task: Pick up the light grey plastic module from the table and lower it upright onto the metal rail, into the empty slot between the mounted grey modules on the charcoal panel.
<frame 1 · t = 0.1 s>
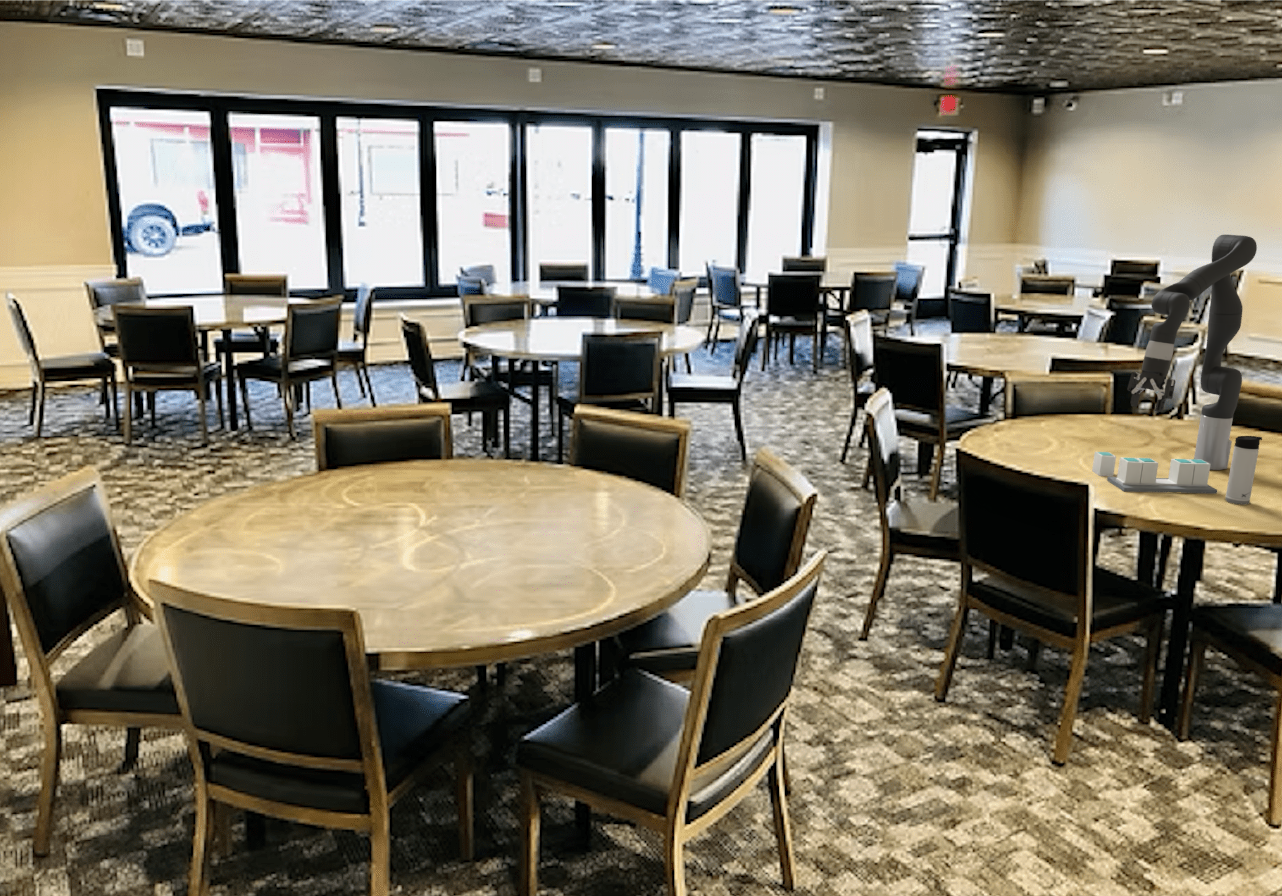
hand: (1145, 408, 326), 22 cm above the table, tool pointing down, fingers open, 8 cm apart
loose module: (1102, 473, 337), on the table
rail panel: (1160, 486, 323), on the table
travel mug: (1237, 502, 310), on the table
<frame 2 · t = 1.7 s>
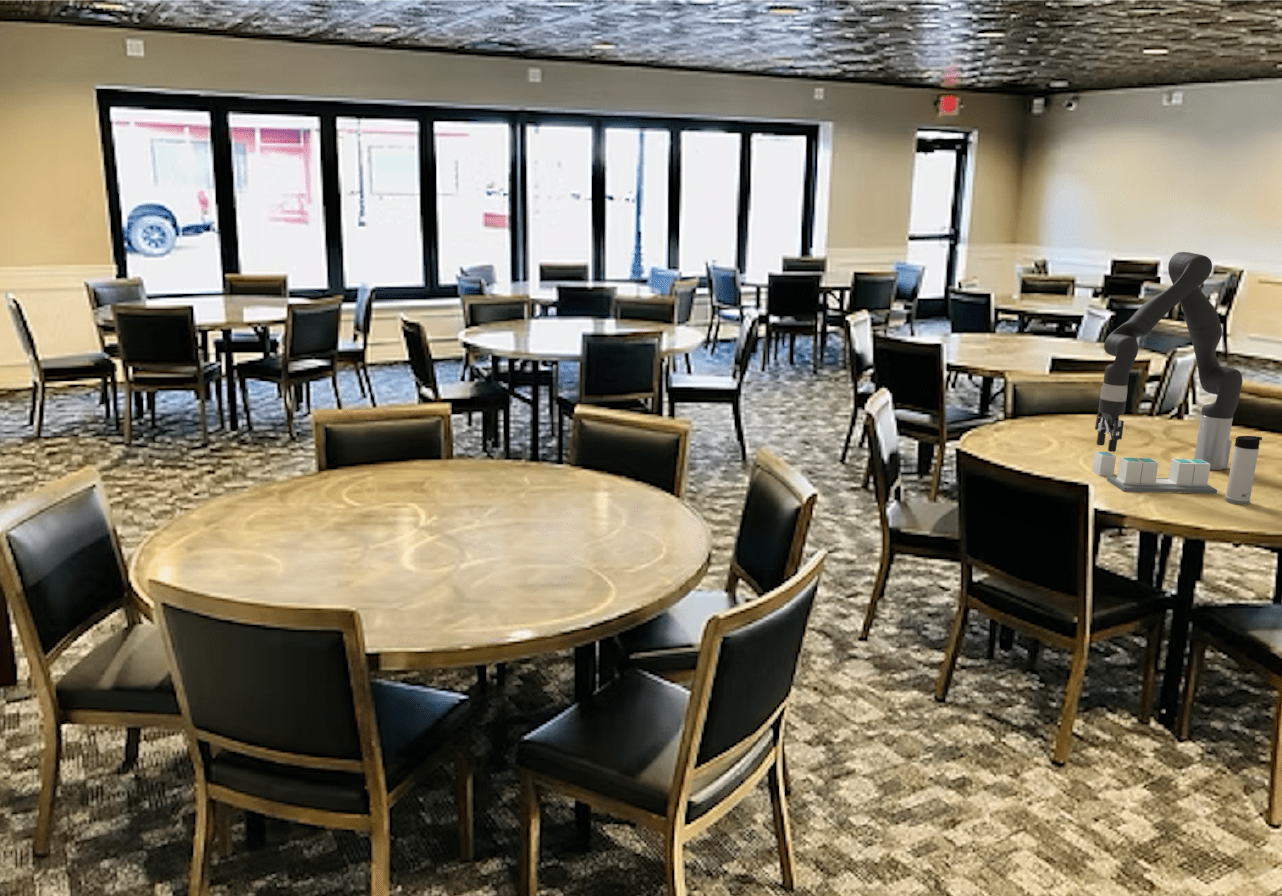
hand: (1105, 448, 334), 8 cm above the table, tool pointing down, fingers open, 8 cm apart
nothing on the table moved.
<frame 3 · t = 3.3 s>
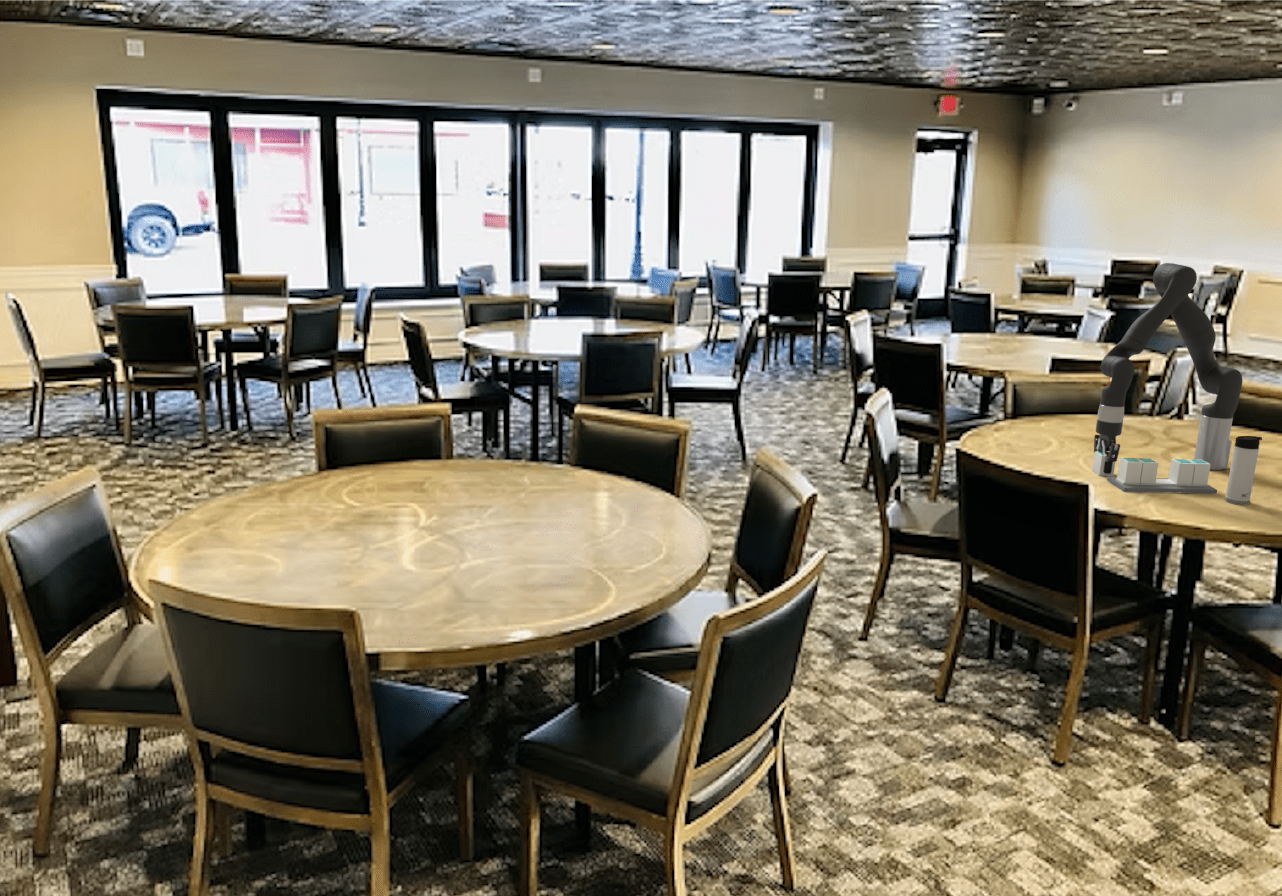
hand: (1103, 470, 336), 1 cm above the table, tool pointing down, fingers closed on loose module, 5 cm apart
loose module: (1102, 473, 337), on the table, touching gripper
everything else where it was.
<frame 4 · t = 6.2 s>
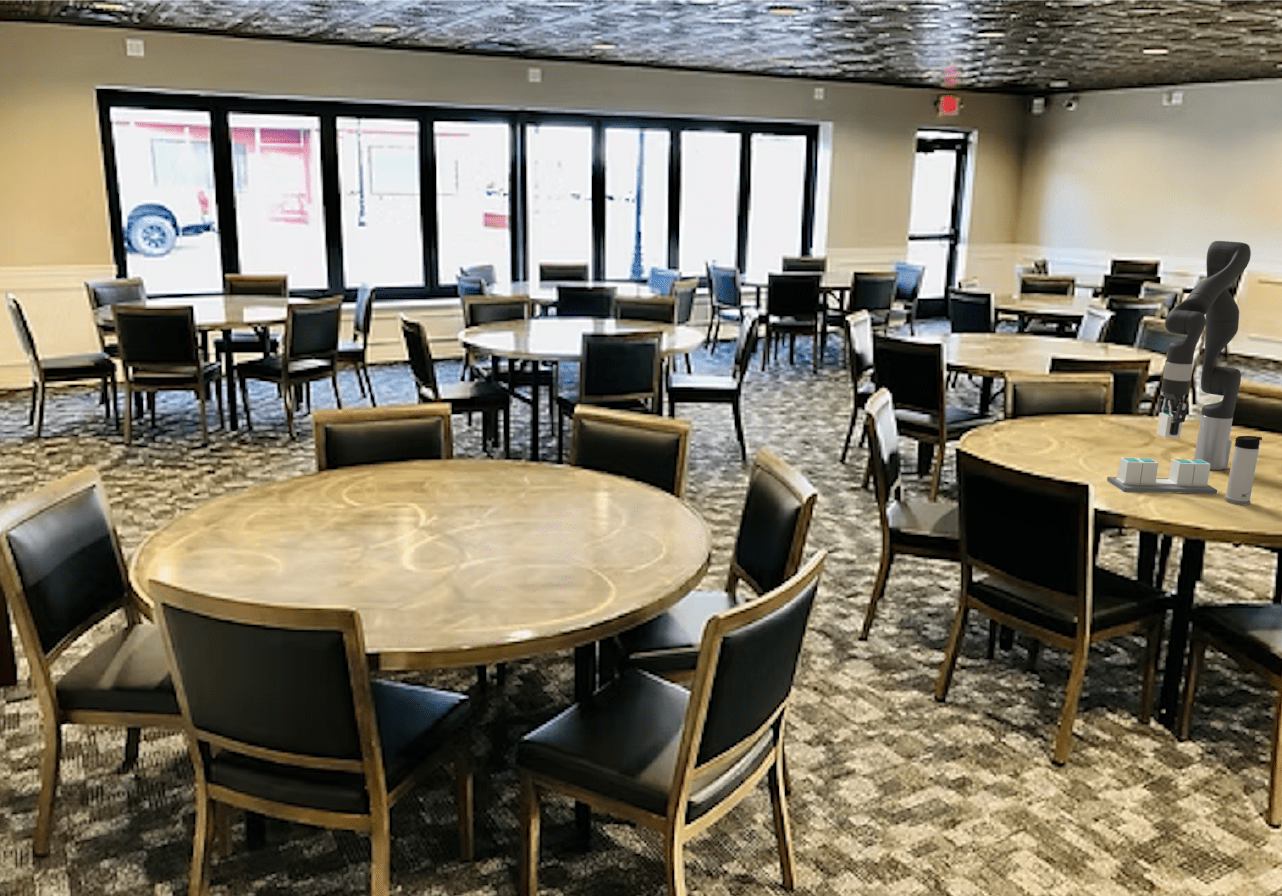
hand: (1168, 432, 319), 17 cm above the table, tool pointing down, fingers closed on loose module, 5 cm apart
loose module: (1167, 435, 319), point 16 cm above the table, touching gripper
everything else where it was.
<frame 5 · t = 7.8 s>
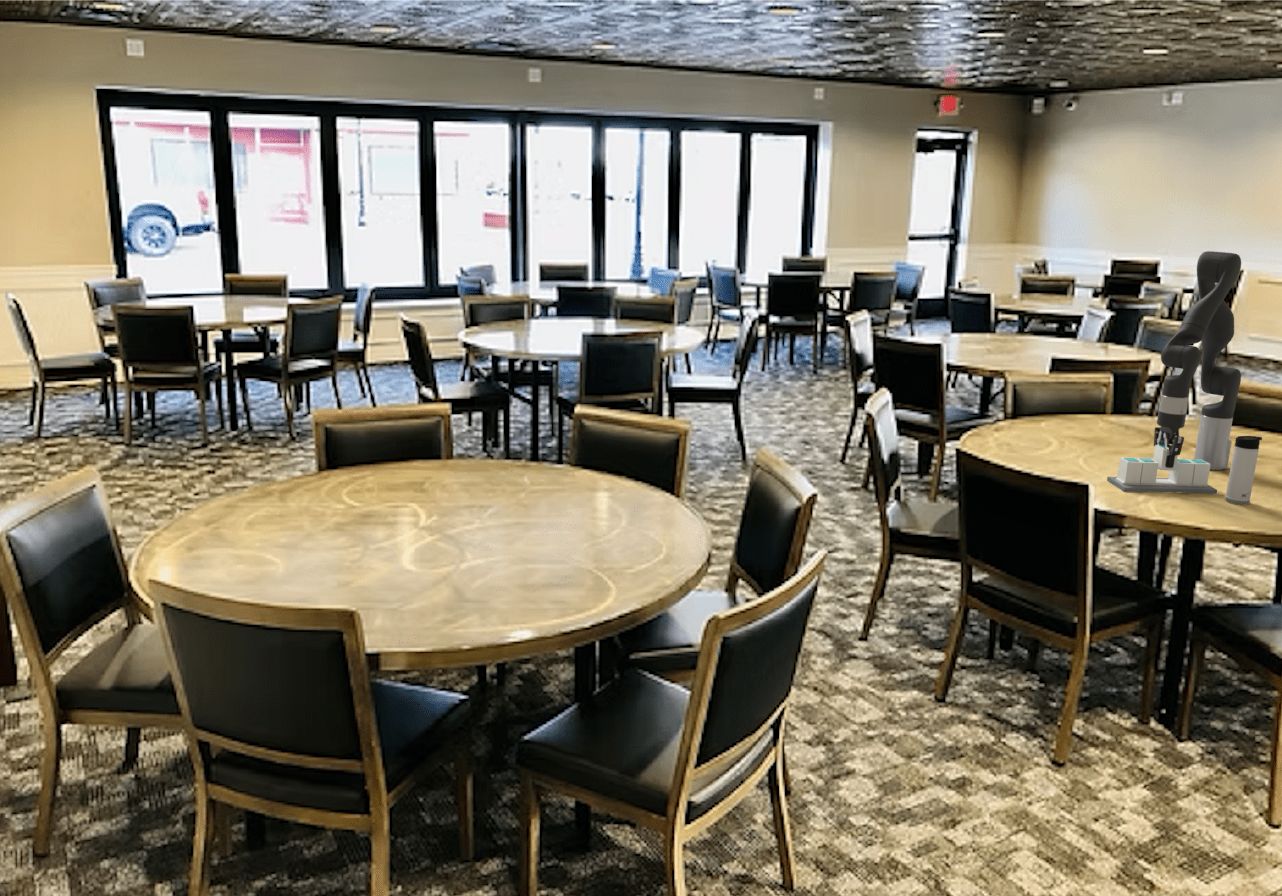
hand: (1164, 464, 321), 7 cm above the table, tool pointing down, fingers closed on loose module, 5 cm apart
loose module: (1163, 467, 321), point 6 cm above the table, touching gripper
everything else where it was.
when the fingers open (4 cm above the table, at t = 8.9 s): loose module drops 1 cm, resting on rail panel.
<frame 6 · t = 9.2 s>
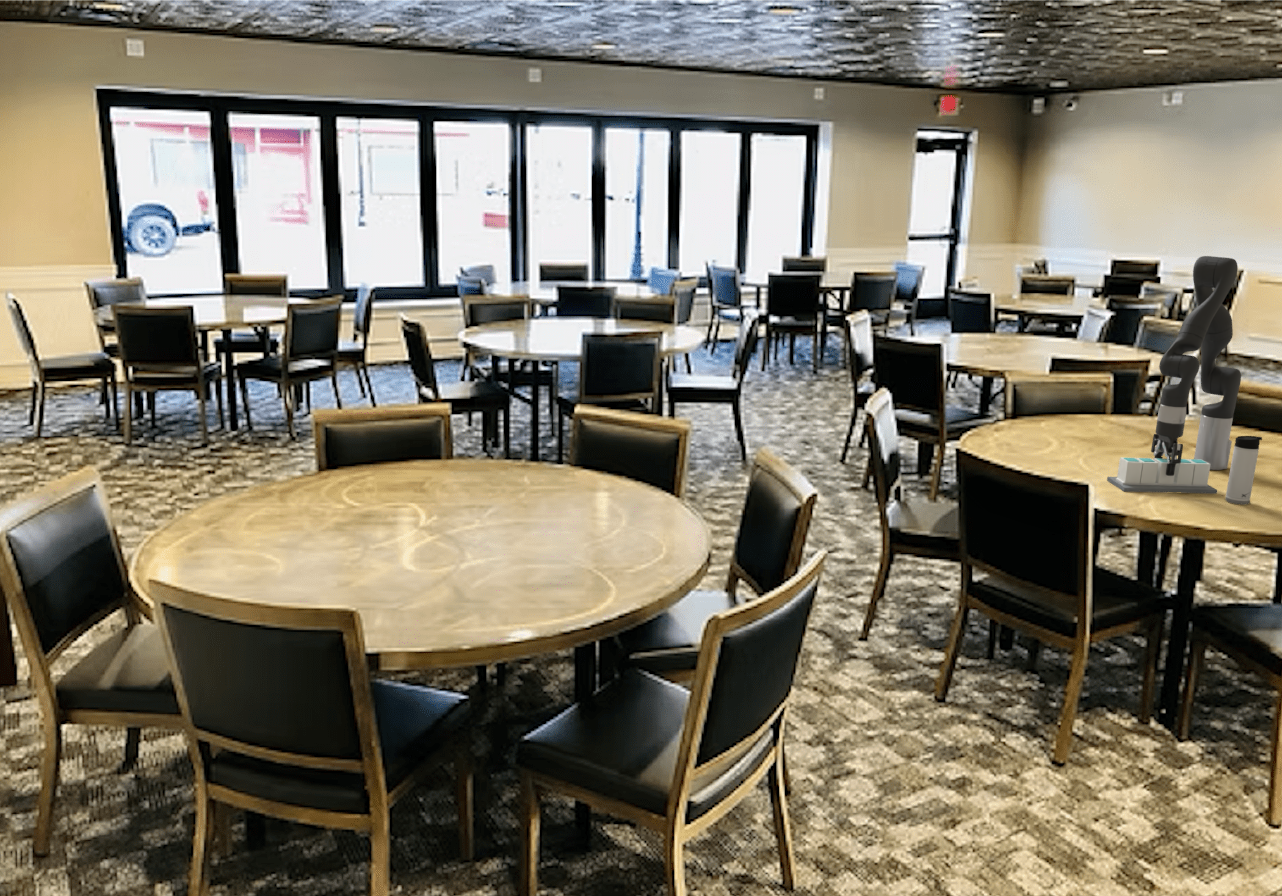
hand: (1163, 471, 322), 5 cm above the table, tool pointing down, fingers open, 8 cm apart
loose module: (1161, 481, 323), point 2 cm above the table, touching rail panel
everything else where it was.
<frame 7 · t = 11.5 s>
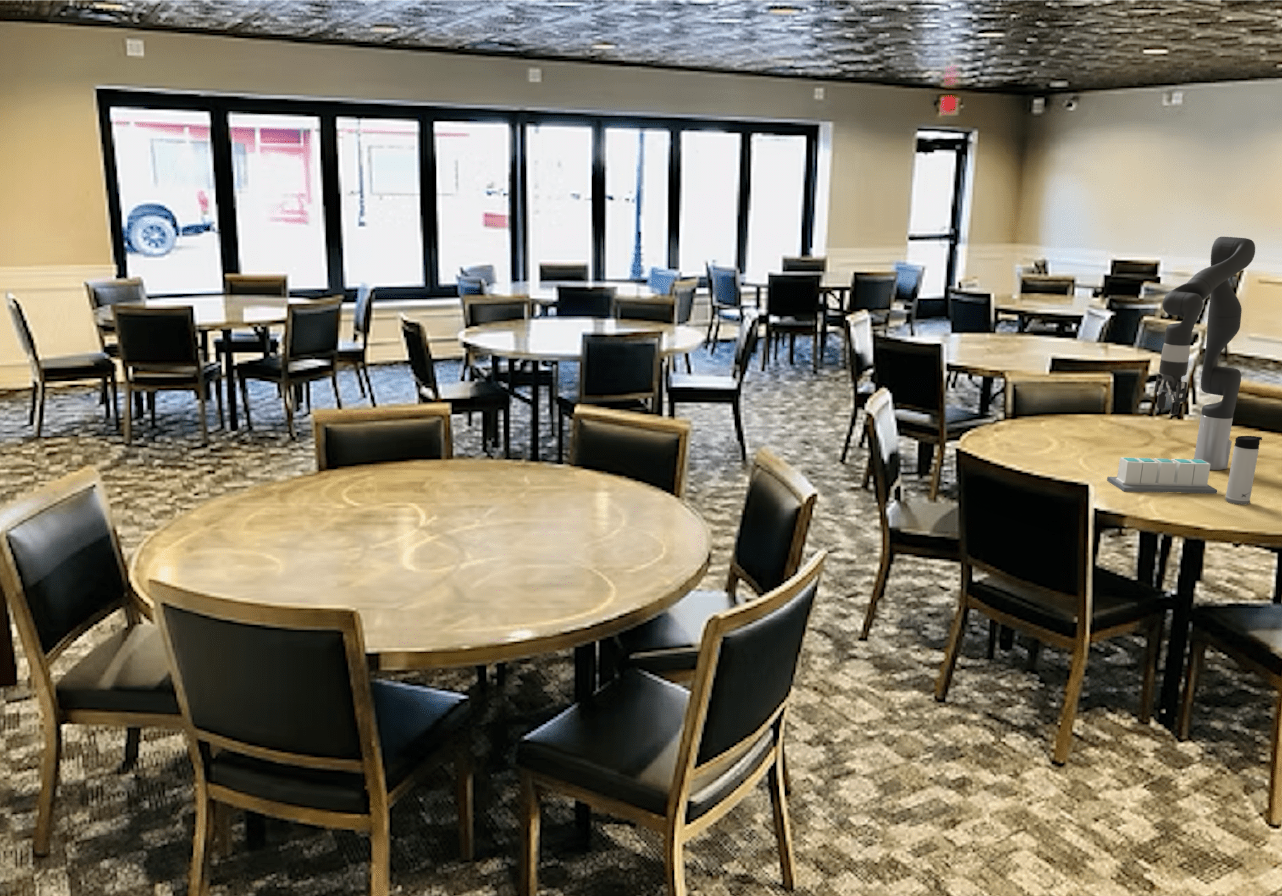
hand: (1167, 411, 321), 23 cm above the table, tool pointing down, fingers open, 8 cm apart
nothing on the table moved.
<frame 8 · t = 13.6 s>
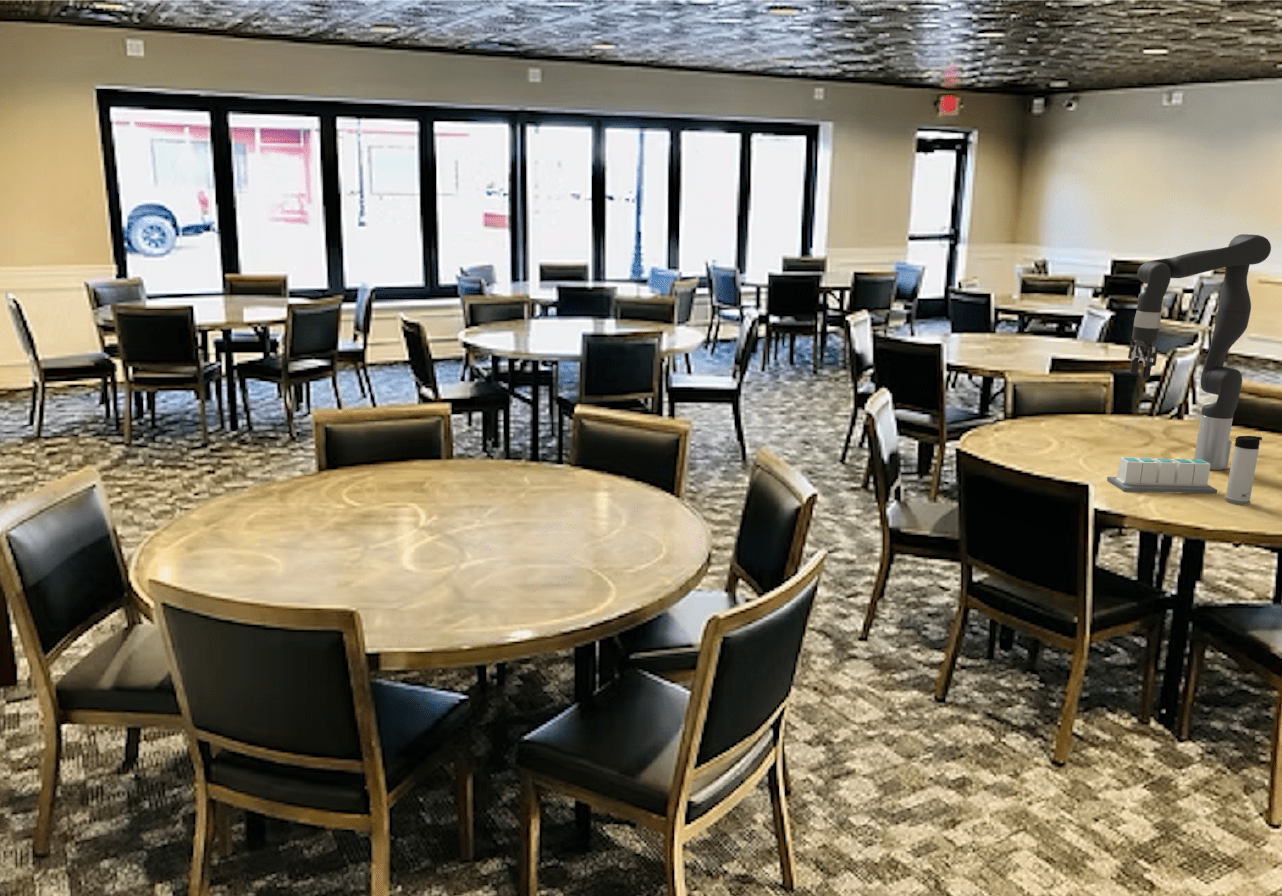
hand: (1139, 375, 339), 30 cm above the table, tool pointing down, fingers open, 8 cm apart
nothing on the table moved.
at the end: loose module 0.0 cm off-centre on the rail panel, point 1.8 cm above the rail panel's base; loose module tilted 0°; the gripper is holding nothing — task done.
